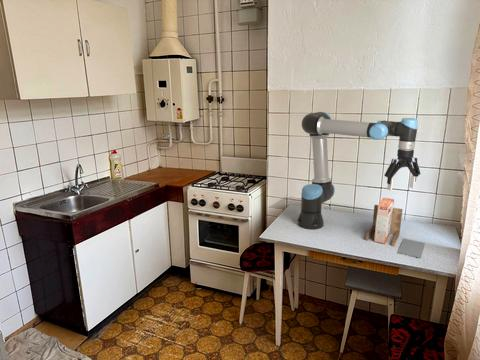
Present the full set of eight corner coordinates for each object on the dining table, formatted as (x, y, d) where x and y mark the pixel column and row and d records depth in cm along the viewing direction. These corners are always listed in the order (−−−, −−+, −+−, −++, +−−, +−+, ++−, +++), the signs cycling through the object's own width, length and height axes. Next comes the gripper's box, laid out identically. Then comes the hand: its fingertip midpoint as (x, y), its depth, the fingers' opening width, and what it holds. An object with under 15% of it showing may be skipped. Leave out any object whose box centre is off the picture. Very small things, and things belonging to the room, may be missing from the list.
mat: (397, 253, 169) (397, 252, 169) (403, 239, 184) (403, 238, 184) (420, 258, 164) (420, 257, 164) (424, 244, 178) (424, 242, 178)
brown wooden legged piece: (365, 240, 184) (367, 213, 180) (372, 229, 197) (374, 204, 193) (394, 246, 176) (397, 218, 172) (399, 234, 189) (402, 209, 185)
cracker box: (385, 244, 179) (389, 206, 173) (373, 241, 182) (377, 204, 176) (390, 234, 190) (394, 198, 184) (378, 232, 193) (382, 196, 187)
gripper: (389, 151, 169) (384, 192, 175) (431, 149, 175) (425, 189, 181) (380, 148, 176) (375, 188, 182) (420, 146, 182) (415, 184, 188)
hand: (400, 188), depth 182 cm, fingers open, 13 cm apart
